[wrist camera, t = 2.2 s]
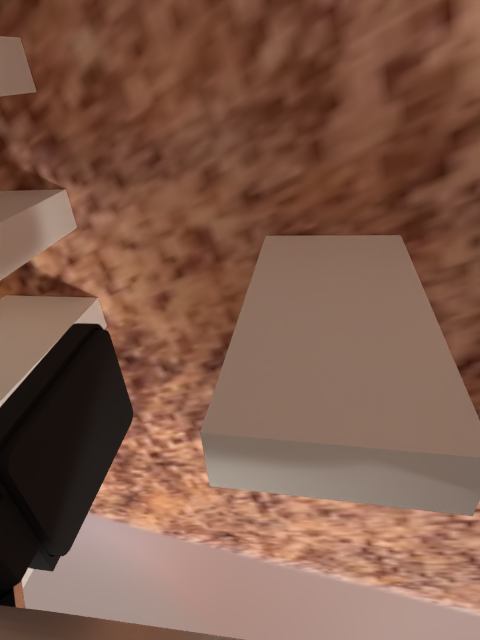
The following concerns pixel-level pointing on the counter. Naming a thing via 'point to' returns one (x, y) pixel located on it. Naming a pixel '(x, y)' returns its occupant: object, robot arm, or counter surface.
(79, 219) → the counter surface
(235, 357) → the domino
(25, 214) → the domino
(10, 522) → the robot arm
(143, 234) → the counter surface
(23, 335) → the domino
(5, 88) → the domino
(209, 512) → the counter surface
